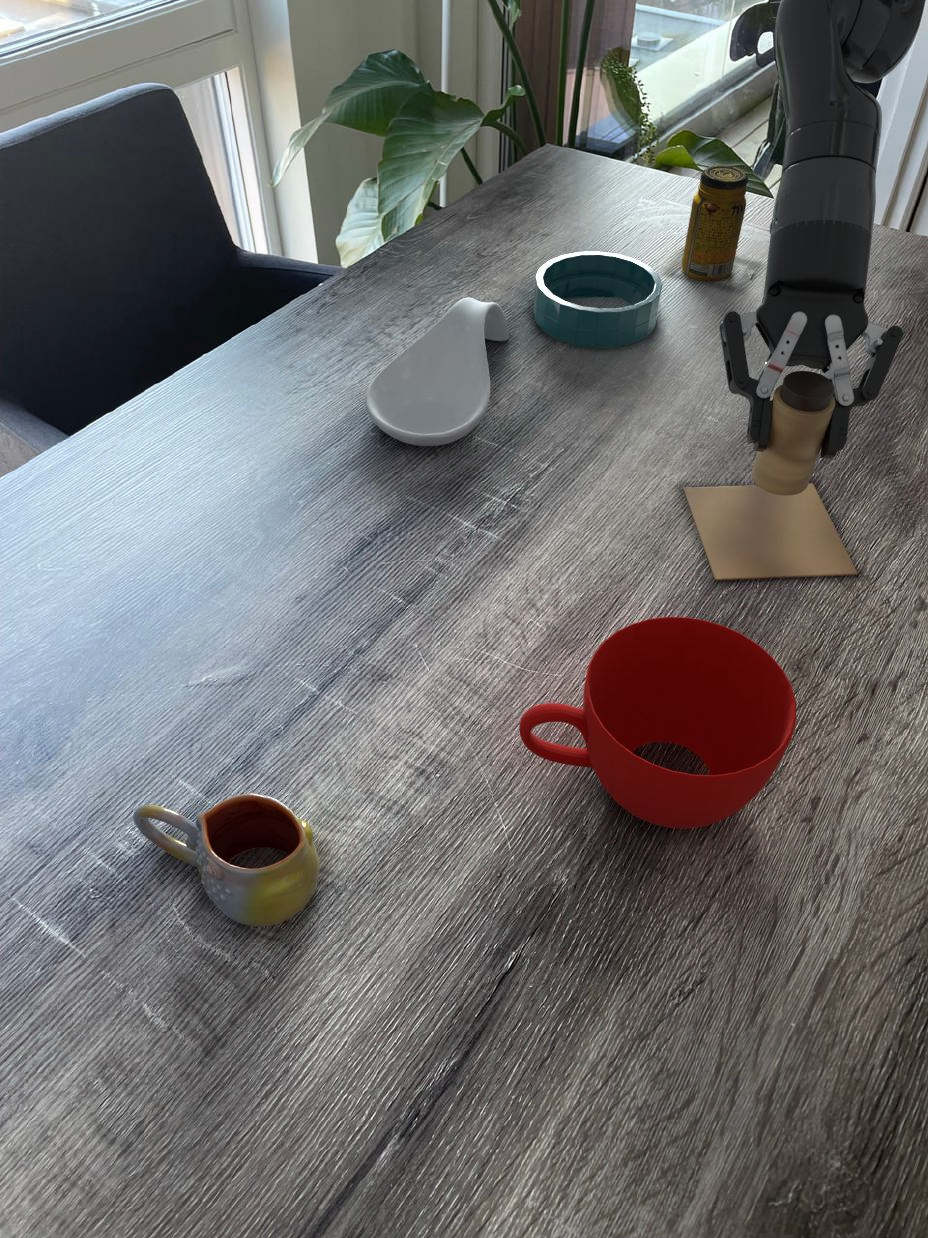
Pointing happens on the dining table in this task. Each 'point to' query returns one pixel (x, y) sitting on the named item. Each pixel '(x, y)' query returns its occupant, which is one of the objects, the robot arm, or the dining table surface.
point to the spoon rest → (439, 378)
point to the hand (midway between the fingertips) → (794, 452)
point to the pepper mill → (795, 433)
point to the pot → (596, 280)
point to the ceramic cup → (676, 719)
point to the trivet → (766, 533)
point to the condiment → (715, 224)
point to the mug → (234, 832)
